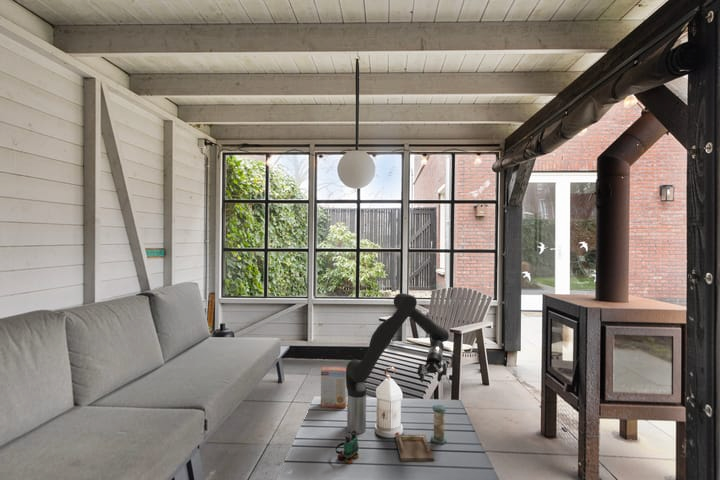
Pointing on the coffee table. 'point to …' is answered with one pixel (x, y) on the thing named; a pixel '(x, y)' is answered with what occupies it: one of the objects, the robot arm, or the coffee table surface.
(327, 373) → the cracker box
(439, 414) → the bobbin
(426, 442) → the brown wooden tray
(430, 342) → the robot arm
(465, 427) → the coffee table surface
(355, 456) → the binoculars
